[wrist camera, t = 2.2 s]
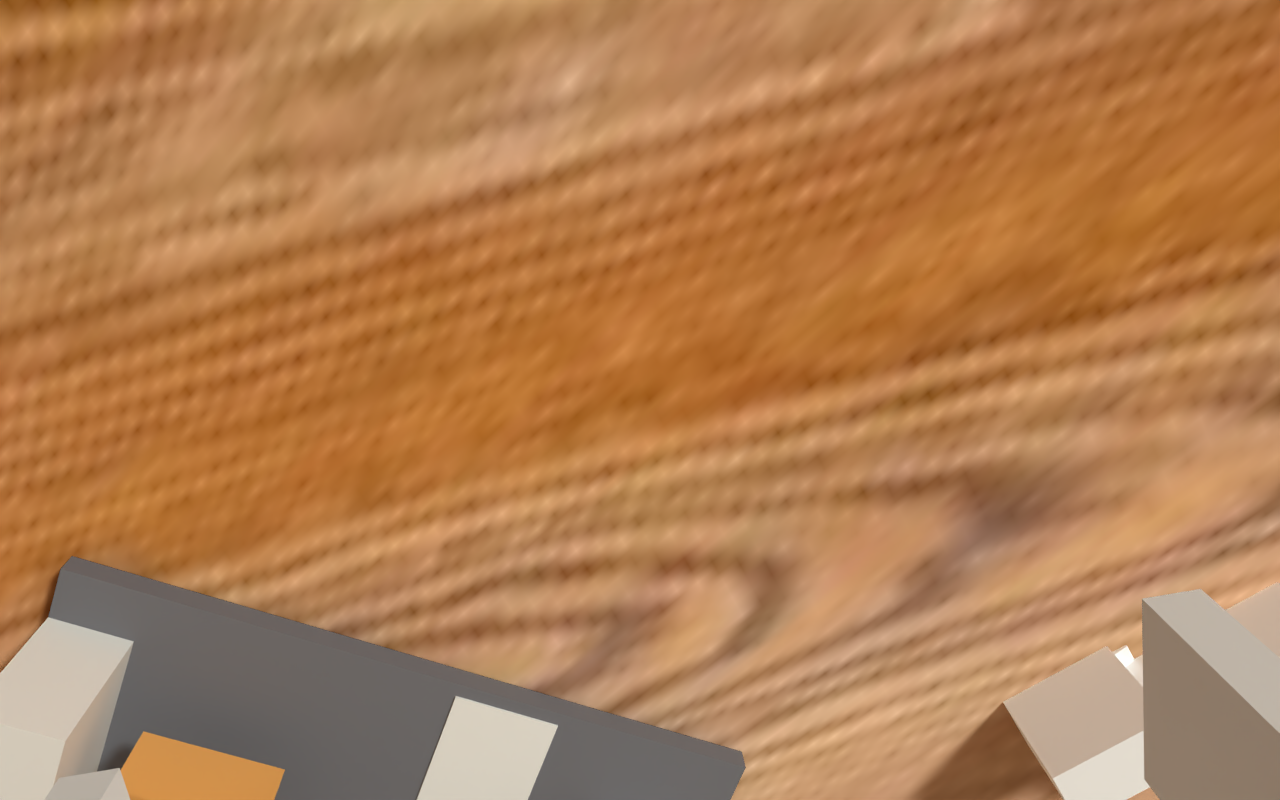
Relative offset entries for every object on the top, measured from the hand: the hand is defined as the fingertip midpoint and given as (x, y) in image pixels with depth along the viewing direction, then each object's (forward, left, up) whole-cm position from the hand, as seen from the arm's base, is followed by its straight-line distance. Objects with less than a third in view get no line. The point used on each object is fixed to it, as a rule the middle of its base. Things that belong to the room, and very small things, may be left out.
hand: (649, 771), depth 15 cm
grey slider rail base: (-1, -21, -26) cm, 33 cm away
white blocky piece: (+25, -6, -27) cm, 37 cm away
